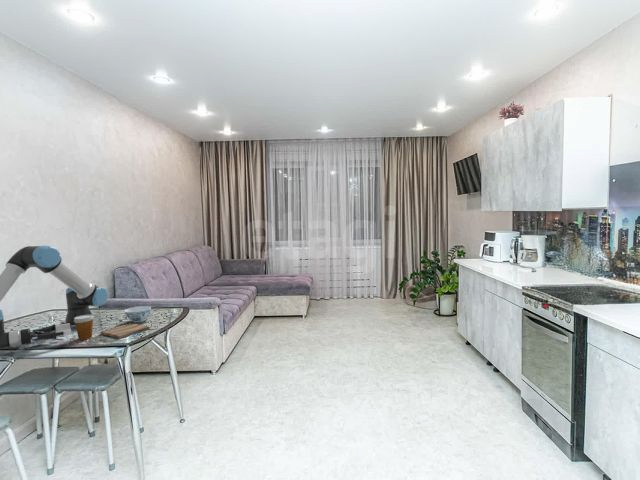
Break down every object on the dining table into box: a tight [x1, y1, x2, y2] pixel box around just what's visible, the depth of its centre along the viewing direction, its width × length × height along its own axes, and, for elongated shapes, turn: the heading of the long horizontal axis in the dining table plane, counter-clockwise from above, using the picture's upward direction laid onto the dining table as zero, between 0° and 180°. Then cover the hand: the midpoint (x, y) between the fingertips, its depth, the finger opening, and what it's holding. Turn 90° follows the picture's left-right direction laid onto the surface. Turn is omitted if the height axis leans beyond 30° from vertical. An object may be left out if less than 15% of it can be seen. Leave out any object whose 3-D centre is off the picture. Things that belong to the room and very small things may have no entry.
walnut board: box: [100, 322, 150, 339], centre depth 220 cm, size 18×18×2 cm
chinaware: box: [124, 305, 152, 324], centre depth 242 cm, size 15×15×8 cm
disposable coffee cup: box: [74, 314, 95, 341], centre depth 211 cm, size 10×10×12 cm
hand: (70, 328), depth 207 cm, fingers open, 13 cm apart
